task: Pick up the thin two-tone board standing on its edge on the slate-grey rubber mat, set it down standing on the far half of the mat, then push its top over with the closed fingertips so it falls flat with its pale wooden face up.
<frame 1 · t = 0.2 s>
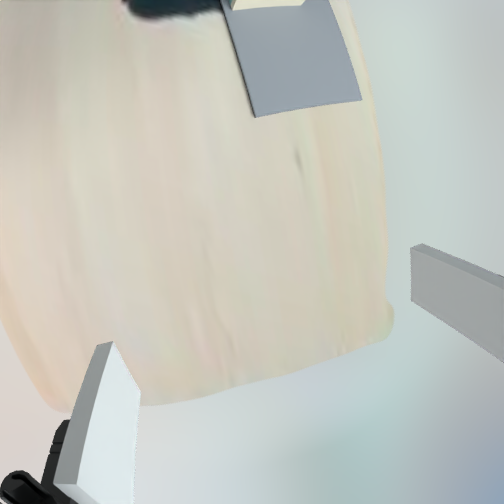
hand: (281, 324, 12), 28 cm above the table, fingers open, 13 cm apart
board: (265, 1, 30), point 1 cm above the table, touching mat
mat: (290, 35, 33), on the table
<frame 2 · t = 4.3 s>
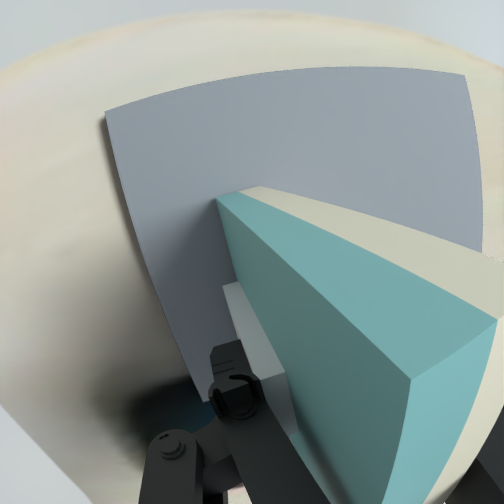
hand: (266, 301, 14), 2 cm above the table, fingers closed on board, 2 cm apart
board: (262, 293, 15), point 1 cm above the table, touching gripper
mat: (359, 217, 16), on the table
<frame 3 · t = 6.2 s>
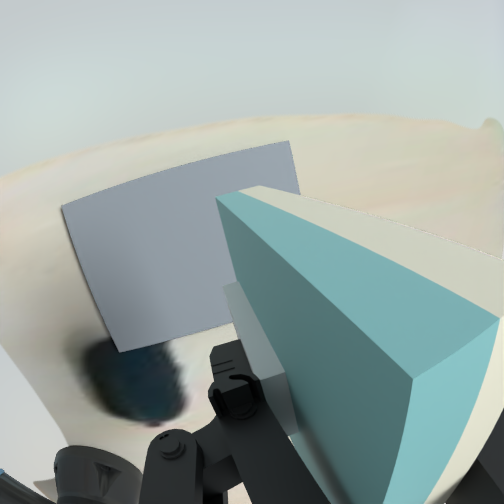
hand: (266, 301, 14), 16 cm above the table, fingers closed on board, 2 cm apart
board: (262, 293, 15), point 15 cm above the table, touching gripper
mat: (194, 251, 28), on the table
when the fingers open (2 cm above the table, at t = 8.6 s): board stays where it is, resting on mat.
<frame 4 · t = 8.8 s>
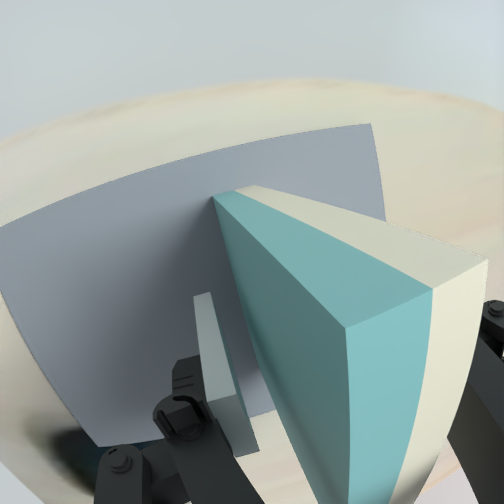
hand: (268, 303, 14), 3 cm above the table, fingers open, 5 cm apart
board: (257, 287, 15), point 1 cm above the table, touching mat
mat: (205, 316, 16), on the table
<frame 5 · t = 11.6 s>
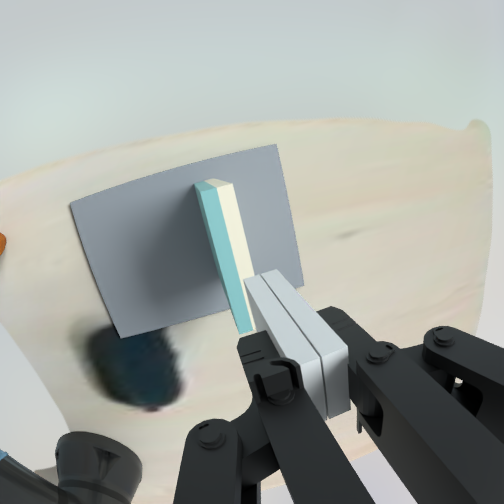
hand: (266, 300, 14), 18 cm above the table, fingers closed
board: (215, 228, 31), point 1 cm above the table, touching mat
carrot: (5, 238, 26), on the table
mat: (190, 244, 31), on the table
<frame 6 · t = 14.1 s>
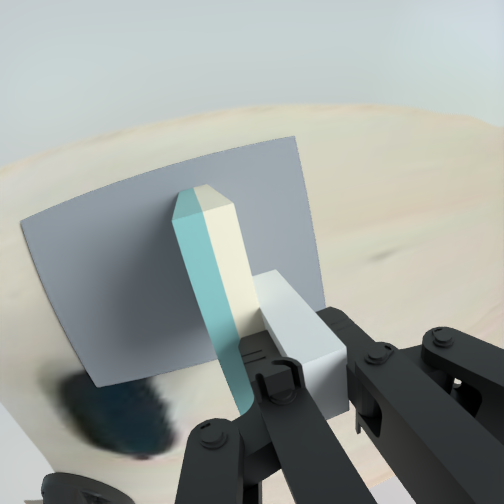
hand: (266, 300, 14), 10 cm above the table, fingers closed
board: (211, 254, 22), point 1 cm above the table, touching gripper, mat
mat: (177, 275, 23), on the table
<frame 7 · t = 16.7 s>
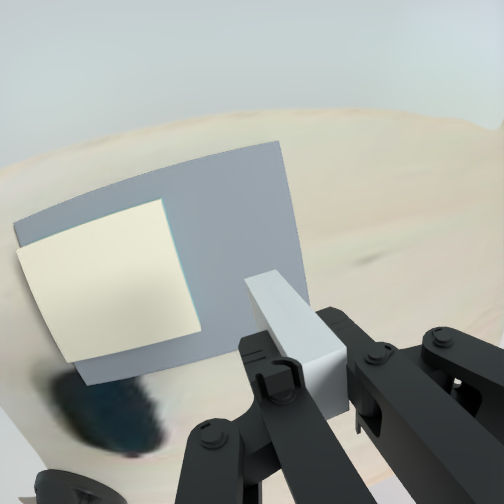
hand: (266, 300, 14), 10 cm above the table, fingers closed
board: (180, 265, 21), point 2 cm above the table, tilted 90°, touching mat
mat: (163, 277, 23), on the table
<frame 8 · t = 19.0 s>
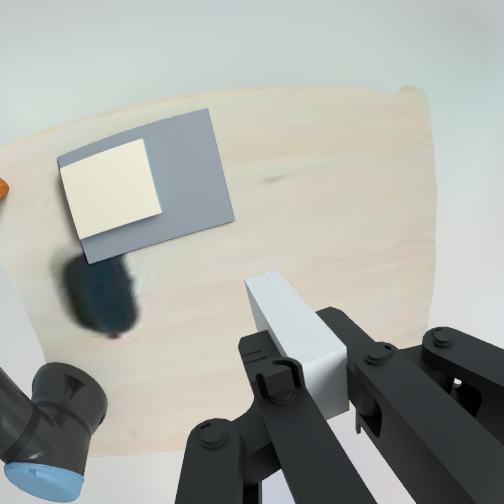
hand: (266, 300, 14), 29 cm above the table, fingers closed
board: (151, 175, 37), point 2 cm above the table, tilted 90°, touching mat
carrot: (8, 188, 33), on the table
mat: (142, 186, 38), on the table
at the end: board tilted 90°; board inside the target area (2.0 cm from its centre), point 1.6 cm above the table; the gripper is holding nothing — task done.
